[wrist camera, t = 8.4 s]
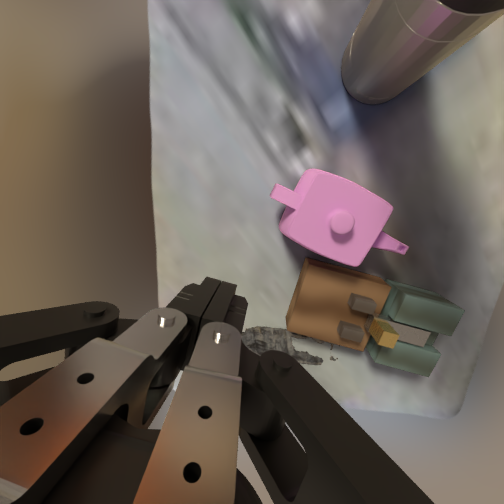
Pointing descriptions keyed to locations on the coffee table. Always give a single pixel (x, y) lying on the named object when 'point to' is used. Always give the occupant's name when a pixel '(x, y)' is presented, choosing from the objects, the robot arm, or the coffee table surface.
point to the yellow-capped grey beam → (394, 331)
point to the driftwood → (278, 343)
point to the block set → (361, 305)
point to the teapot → (335, 217)
